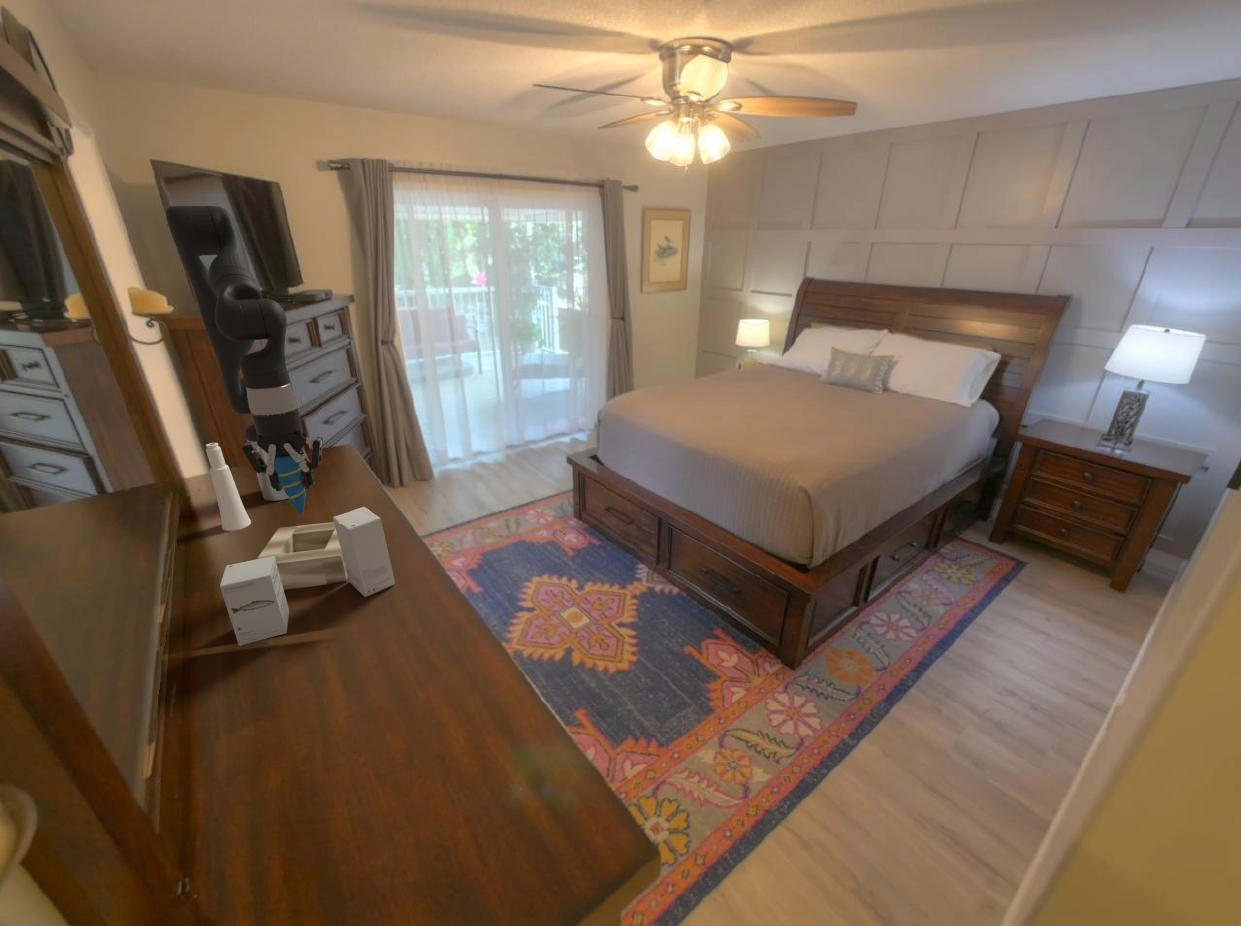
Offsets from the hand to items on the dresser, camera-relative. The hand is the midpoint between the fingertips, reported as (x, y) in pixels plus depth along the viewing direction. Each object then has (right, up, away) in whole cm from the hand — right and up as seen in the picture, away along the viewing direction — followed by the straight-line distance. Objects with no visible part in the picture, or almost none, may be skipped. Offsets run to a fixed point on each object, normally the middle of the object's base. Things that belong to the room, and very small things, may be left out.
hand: (294, 488), depth 104 cm
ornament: (0, -6, +2) cm, 6 cm away
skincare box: (+15, -20, +1) cm, 25 cm away
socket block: (0, -17, +7) cm, 19 cm away
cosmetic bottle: (-29, -11, +23) cm, 39 cm away
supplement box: (+2, -25, -12) cm, 28 cm away
